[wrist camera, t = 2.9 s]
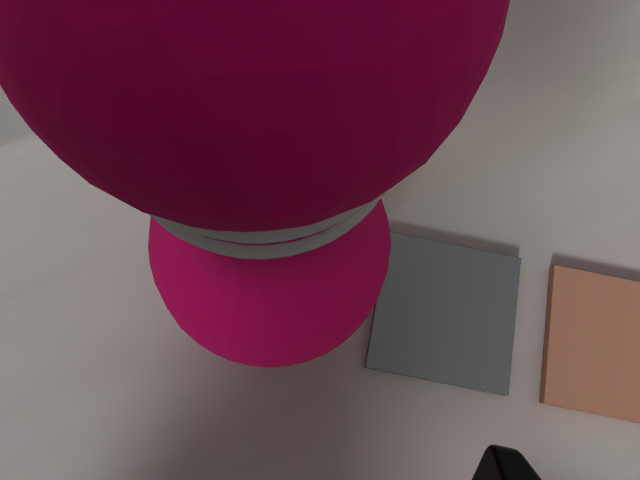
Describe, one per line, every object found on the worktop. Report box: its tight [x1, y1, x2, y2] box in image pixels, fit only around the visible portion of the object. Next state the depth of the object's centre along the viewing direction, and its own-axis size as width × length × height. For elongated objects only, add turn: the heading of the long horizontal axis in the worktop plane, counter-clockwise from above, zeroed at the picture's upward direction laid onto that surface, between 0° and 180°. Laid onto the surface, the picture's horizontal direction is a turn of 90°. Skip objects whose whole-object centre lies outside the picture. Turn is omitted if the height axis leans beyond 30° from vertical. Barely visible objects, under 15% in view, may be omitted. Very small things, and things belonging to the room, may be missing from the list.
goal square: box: [540, 265, 640, 423], centre depth 22 cm, size 5×5×1 cm
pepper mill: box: [0, 0, 510, 367], centre depth 12 cm, size 7×7×20 cm
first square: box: [365, 232, 521, 396], centre depth 22 cm, size 5×5×1 cm
